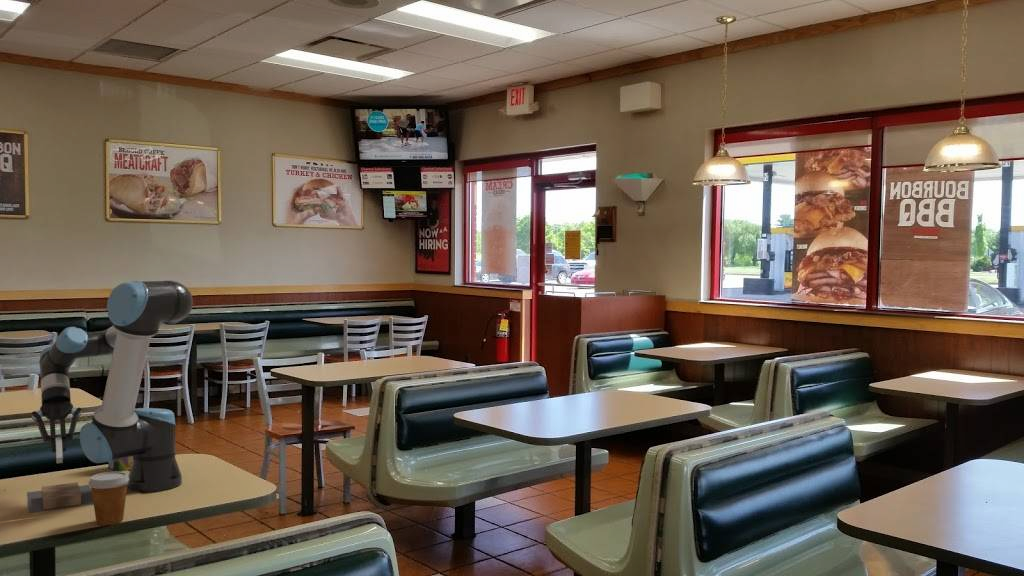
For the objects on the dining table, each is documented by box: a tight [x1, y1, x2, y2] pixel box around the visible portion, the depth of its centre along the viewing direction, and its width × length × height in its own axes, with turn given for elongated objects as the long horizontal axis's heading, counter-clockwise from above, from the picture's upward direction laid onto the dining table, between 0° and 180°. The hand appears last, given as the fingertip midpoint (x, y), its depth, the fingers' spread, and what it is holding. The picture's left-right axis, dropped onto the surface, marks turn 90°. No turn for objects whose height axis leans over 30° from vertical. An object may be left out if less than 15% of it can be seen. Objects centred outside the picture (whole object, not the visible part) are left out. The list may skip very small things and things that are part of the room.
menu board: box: [41, 482, 81, 510], centre depth 233 cm, size 9×3×14 cm
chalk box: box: [107, 456, 133, 472], centre depth 270 cm, size 9×9×15 cm
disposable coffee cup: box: [88, 471, 129, 526], centre depth 217 cm, size 10×10×12 cm
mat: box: [26, 484, 94, 514], centre depth 236 cm, size 16×22×1 cm
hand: (59, 460), depth 234 cm, fingers closed
